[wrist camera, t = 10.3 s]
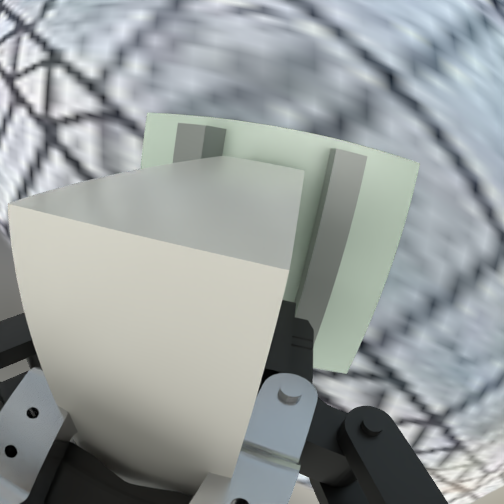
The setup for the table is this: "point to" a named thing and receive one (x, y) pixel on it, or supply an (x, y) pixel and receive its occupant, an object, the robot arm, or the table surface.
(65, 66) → the table surface
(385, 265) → the dish rack
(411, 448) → the robot arm
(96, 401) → the cream rectangular prism
